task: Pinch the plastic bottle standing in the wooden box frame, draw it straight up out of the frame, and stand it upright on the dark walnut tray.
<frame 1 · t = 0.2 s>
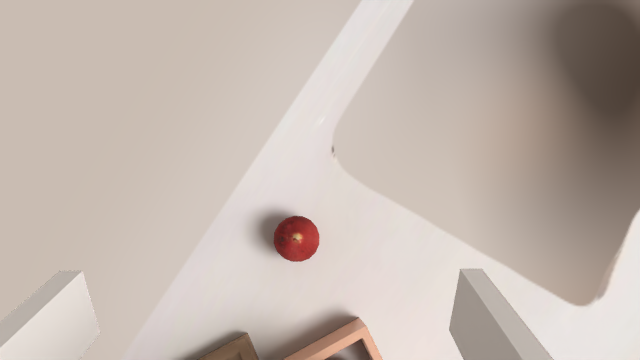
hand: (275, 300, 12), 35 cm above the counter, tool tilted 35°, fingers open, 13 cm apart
onion: (297, 239, 47), on the counter
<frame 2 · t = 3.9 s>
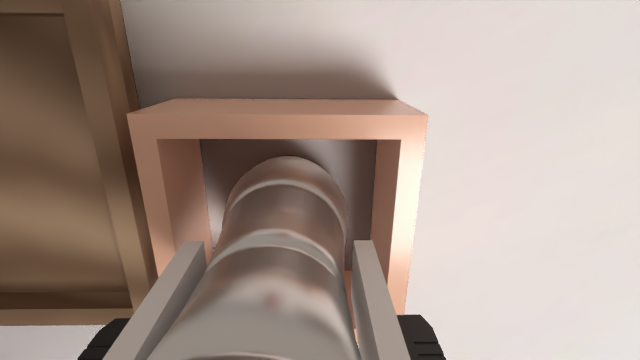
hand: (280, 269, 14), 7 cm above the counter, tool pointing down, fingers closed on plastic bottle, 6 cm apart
wooden box frame: (290, 200, 20), on the counter
tray: (26, 168, 19), on the counter
plastic bottle: (290, 199, 20), resting in wooden box frame, touching gripper
when the fingers open (9 cm above the counter, at t = 11.9 s): plastic bottle drops 1 cm, resting on tray.
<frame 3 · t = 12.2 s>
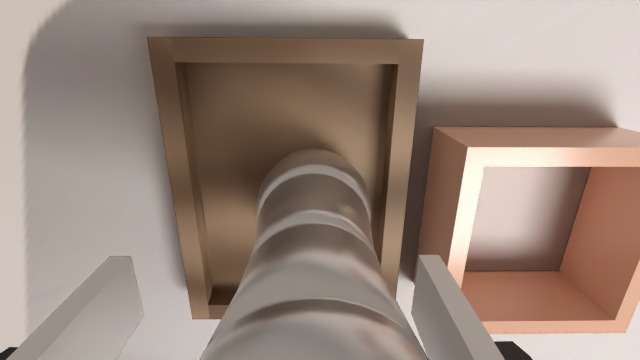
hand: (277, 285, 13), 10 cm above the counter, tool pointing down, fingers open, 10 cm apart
wooden box frame: (507, 211, 23), on the counter
tray: (293, 185, 22), on the counter
plastic bottle: (313, 189, 22), point 1 cm above the counter, touching tray
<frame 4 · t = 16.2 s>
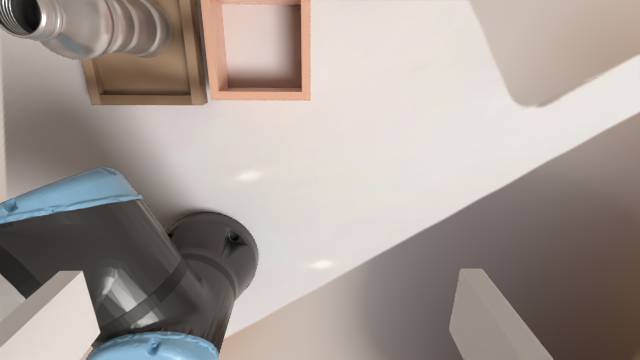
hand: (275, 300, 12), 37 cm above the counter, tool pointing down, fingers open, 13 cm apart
wooden box frame: (263, 47, 43), on the counter
tray: (143, 29, 42), on the counter
plastic bottle: (151, 29, 41), point 1 cm above the counter, touching tray
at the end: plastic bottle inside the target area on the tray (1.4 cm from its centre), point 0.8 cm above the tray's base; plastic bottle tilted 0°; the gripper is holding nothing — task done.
